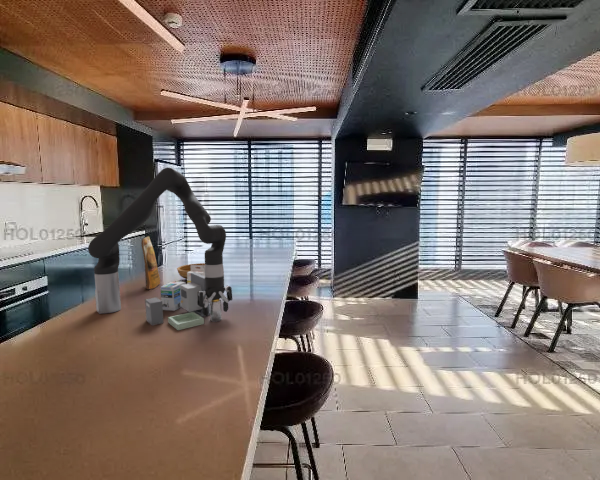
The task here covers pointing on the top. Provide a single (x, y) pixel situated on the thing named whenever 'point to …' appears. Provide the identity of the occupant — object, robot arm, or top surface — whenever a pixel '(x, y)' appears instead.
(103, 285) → the robot arm
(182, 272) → the tan wooden bowl
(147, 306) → the grey block
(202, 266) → the ink cartridge box
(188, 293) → the wall unit
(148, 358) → the top surface
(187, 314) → the parts tray
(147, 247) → the pancake mix bag
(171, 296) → the light bulb box
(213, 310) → the cylinder
